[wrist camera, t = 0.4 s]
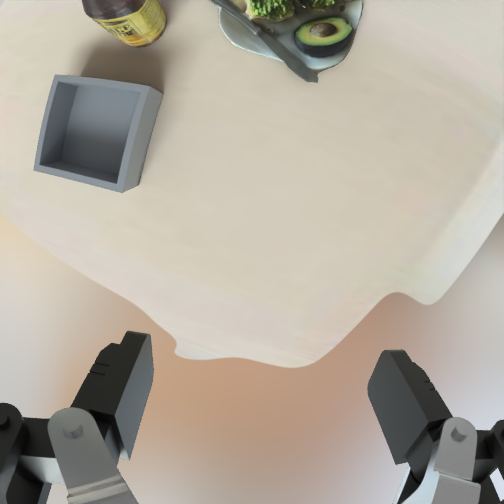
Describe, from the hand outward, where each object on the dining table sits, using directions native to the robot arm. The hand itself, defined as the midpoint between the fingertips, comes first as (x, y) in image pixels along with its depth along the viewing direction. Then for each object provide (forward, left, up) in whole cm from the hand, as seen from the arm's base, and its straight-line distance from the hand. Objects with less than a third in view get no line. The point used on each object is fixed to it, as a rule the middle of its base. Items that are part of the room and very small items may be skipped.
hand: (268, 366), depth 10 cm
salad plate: (-25, -2, -30) cm, 39 cm away
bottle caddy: (-4, -20, -29) cm, 35 cm away
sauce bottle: (-18, -19, -29) cm, 39 cm away
